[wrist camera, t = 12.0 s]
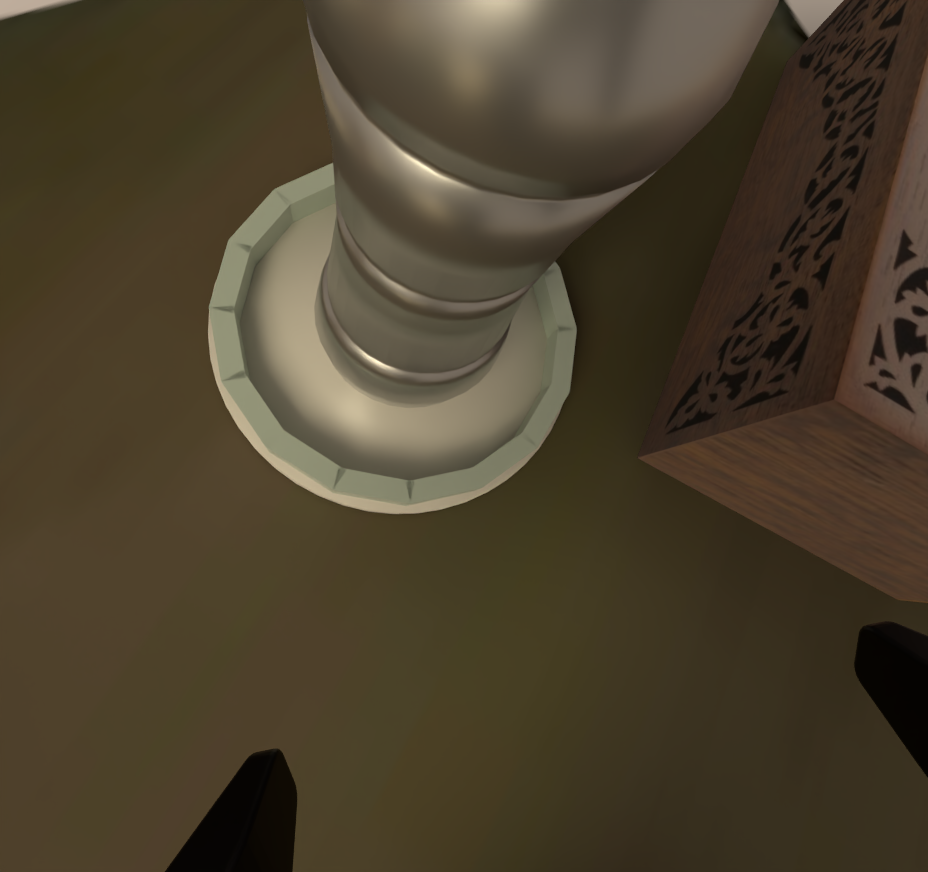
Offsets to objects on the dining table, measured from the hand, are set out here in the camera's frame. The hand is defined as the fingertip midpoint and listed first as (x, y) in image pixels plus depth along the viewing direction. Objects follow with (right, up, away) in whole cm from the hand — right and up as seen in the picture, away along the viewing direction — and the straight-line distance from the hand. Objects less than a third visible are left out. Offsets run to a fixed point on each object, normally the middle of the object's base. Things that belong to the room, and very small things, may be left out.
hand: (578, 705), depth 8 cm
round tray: (-4, +8, +14) cm, 17 cm away
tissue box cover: (+18, +11, +20) cm, 29 cm away
